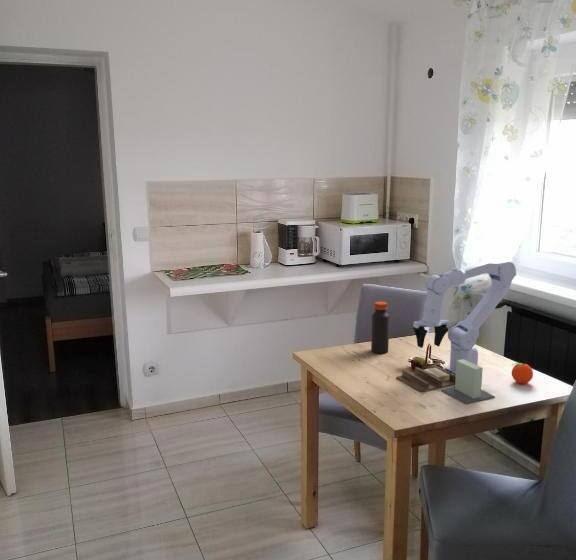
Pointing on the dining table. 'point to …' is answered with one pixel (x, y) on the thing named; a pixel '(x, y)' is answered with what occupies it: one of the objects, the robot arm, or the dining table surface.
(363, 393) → the dining table surface
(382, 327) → the bottle
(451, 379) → the rack
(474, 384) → the sage panel
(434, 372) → the offcut top
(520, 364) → the tomato
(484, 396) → the mat
